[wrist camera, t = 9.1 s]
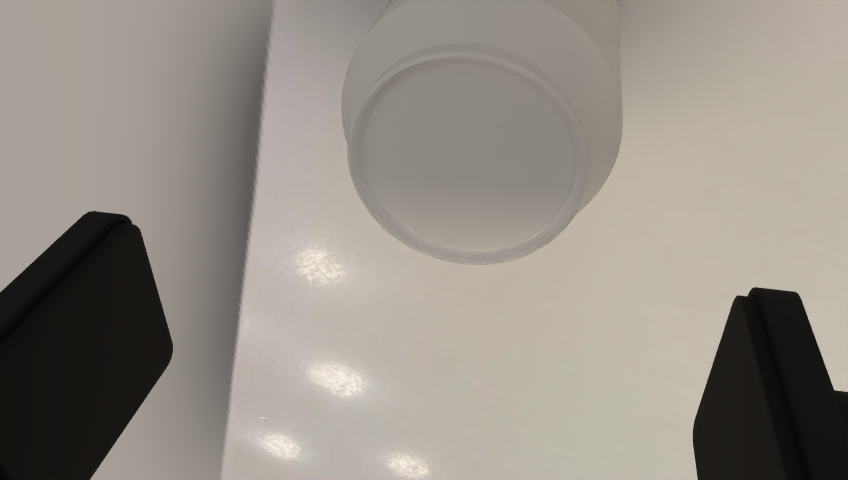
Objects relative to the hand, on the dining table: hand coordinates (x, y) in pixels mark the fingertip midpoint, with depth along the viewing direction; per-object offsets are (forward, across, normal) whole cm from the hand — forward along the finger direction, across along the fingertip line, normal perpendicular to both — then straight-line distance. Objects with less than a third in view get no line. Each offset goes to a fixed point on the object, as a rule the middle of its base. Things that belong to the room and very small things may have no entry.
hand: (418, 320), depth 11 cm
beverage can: (+16, 0, -1) cm, 16 cm away
